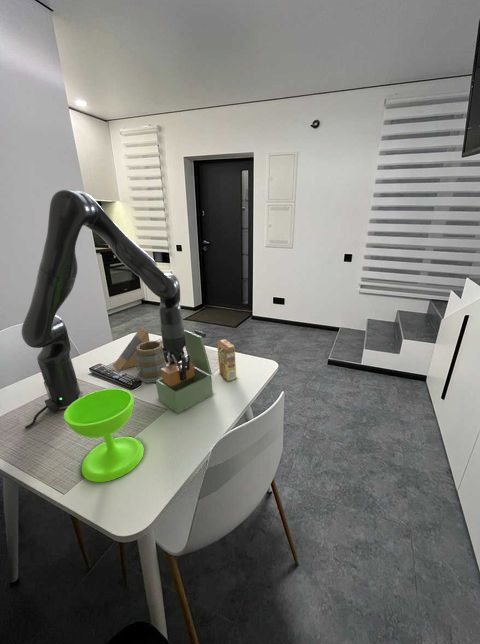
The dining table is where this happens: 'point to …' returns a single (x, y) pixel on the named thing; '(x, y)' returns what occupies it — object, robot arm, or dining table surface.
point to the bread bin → (185, 391)
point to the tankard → (150, 361)
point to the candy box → (226, 359)
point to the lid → (197, 350)
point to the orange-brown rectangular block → (175, 374)
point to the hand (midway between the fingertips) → (178, 376)
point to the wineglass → (105, 433)
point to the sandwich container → (132, 350)
